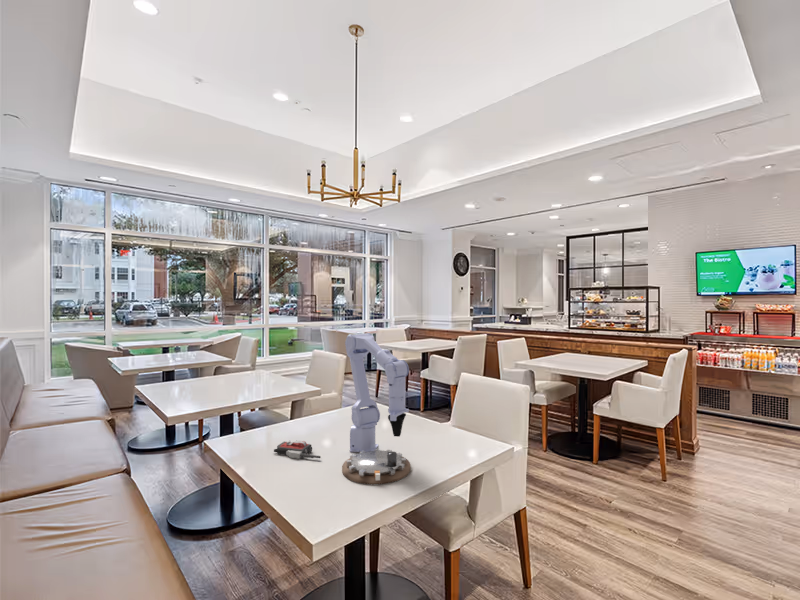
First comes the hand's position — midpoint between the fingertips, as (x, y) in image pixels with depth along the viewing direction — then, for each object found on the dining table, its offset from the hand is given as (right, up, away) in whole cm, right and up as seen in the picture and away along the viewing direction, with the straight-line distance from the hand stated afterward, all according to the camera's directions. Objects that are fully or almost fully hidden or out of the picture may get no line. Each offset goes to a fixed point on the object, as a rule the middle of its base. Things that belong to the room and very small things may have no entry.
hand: (397, 435), depth 137 cm
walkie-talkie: (-36, -11, +11) cm, 39 cm away
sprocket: (-7, -9, -2) cm, 11 cm away
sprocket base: (-7, -10, -2) cm, 13 cm away
